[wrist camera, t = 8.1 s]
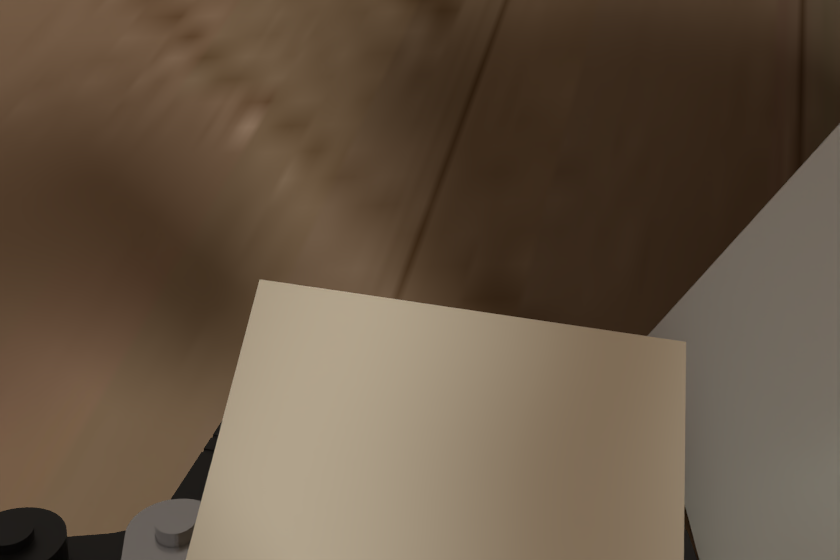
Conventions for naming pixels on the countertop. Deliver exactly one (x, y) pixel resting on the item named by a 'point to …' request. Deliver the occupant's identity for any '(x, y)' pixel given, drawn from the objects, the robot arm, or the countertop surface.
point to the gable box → (767, 378)
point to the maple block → (443, 437)
